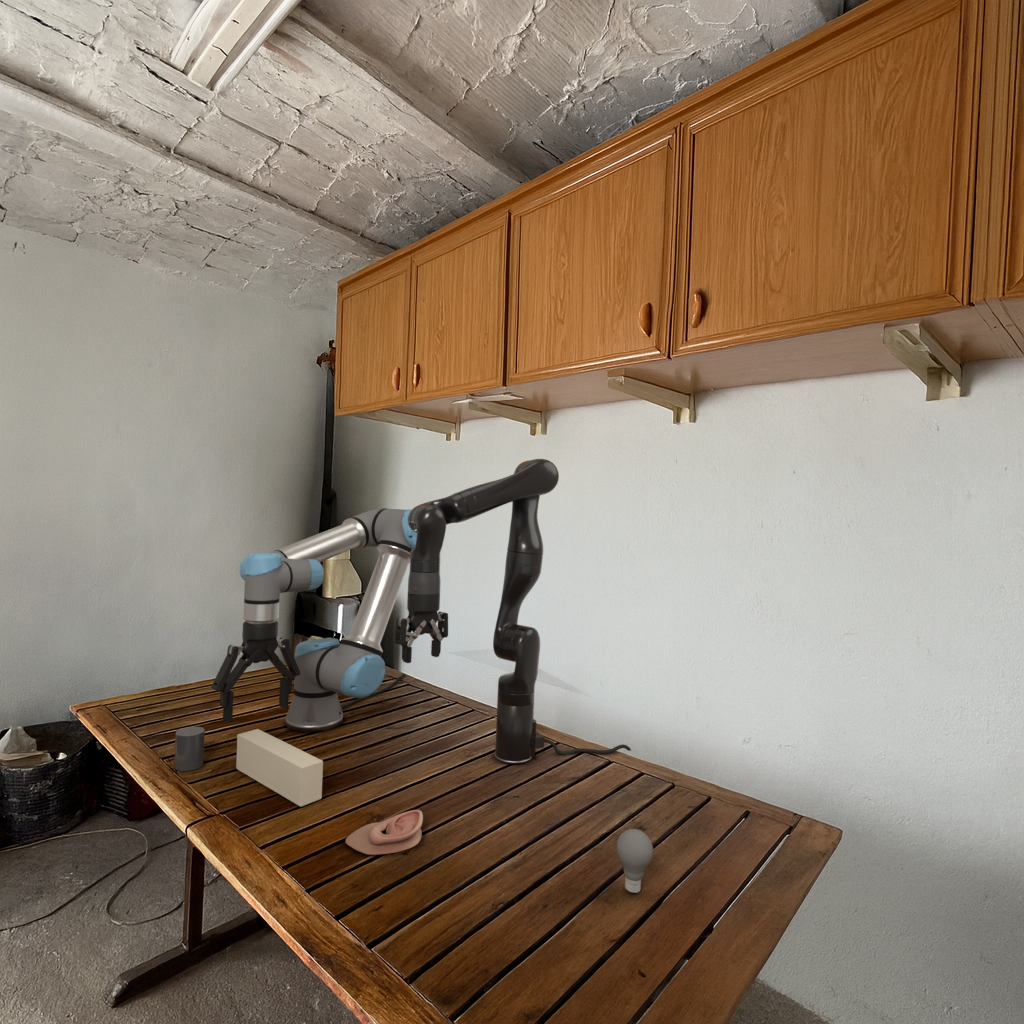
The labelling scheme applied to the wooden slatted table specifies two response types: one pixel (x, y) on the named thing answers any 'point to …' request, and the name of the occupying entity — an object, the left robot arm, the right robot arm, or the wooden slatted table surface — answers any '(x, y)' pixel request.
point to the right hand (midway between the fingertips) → (421, 659)
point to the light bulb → (634, 857)
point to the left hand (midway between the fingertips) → (256, 713)
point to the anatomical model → (388, 834)
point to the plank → (280, 766)
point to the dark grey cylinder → (189, 748)
